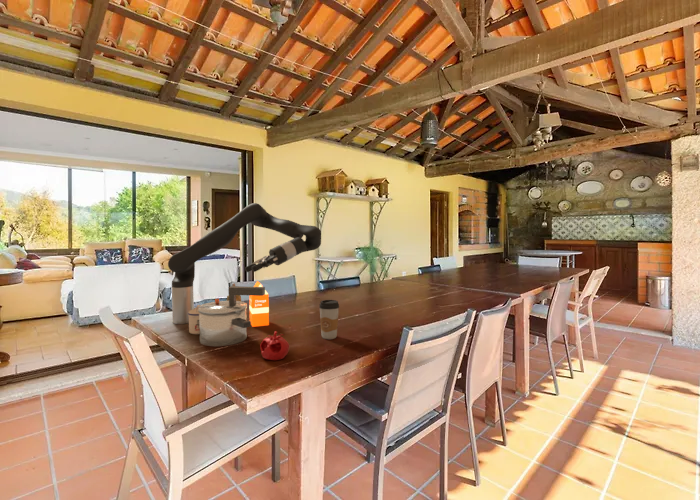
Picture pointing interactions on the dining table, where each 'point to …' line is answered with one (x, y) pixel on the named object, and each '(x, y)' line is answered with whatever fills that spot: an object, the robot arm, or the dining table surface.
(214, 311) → the cooker lid
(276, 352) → the pomegranate
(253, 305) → the orange juice
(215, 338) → the cooker pot
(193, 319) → the teacup with lid
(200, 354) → the dining table surface
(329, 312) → the coffee cup
